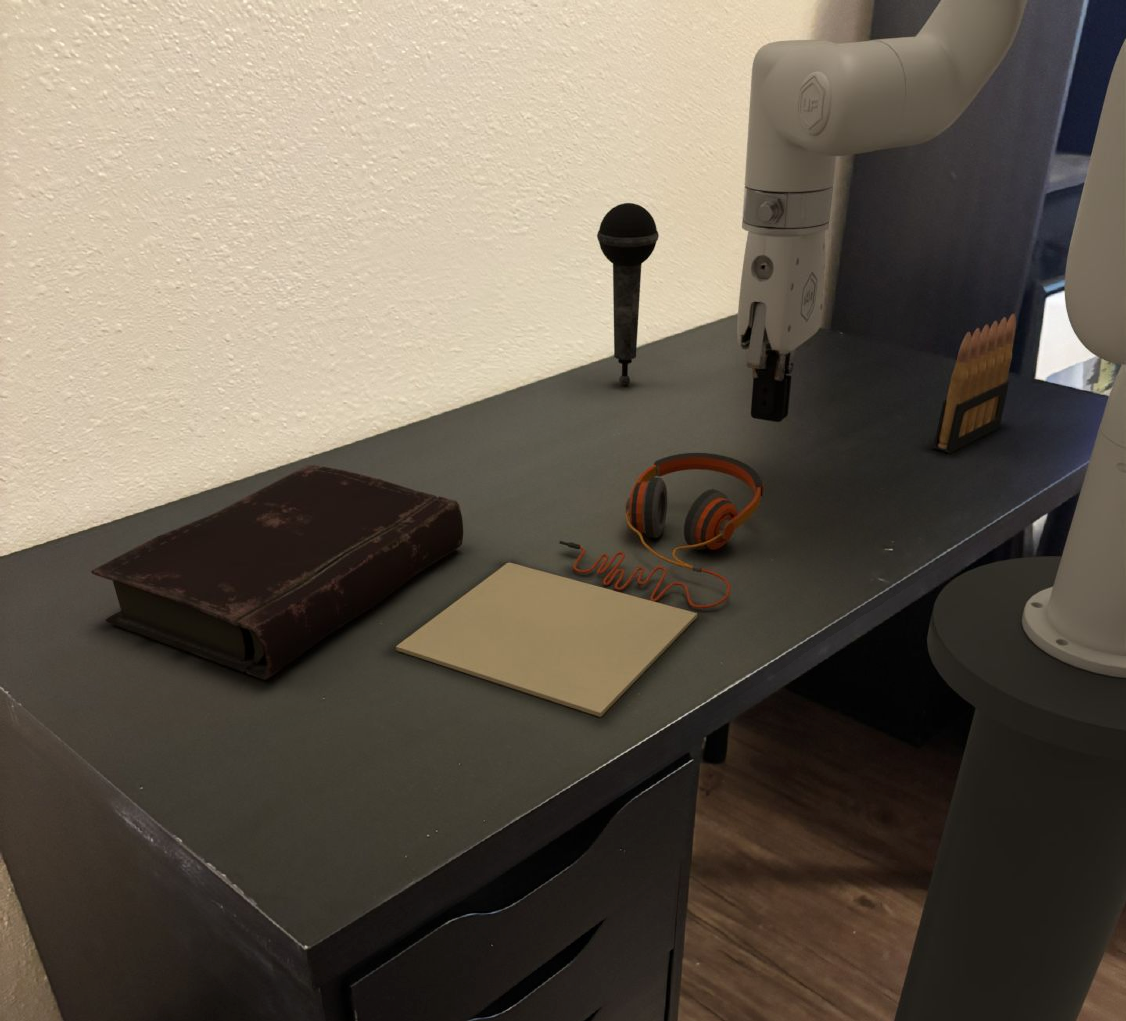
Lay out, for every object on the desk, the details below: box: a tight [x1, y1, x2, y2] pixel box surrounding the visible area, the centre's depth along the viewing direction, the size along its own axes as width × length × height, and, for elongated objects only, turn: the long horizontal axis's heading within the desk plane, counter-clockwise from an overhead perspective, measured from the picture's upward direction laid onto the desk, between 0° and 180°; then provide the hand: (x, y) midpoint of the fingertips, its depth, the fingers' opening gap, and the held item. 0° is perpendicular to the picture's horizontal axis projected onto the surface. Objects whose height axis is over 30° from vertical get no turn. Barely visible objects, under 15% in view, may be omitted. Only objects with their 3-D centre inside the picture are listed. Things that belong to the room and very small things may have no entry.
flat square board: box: [395, 562, 698, 718], centre depth 87 cm, size 18×16×1 cm
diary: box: [91, 464, 464, 681], centre depth 92 cm, size 19×25×5 cm
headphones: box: [558, 452, 765, 609], centre depth 97 cm, size 17×5×20 cm
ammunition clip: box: [932, 313, 1017, 454], centre depth 115 cm, size 11×2×12 cm, turn 134°
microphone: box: [596, 202, 660, 387], centre depth 127 cm, size 7×7×20 cm
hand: (769, 417), depth 107 cm, fingers closed
